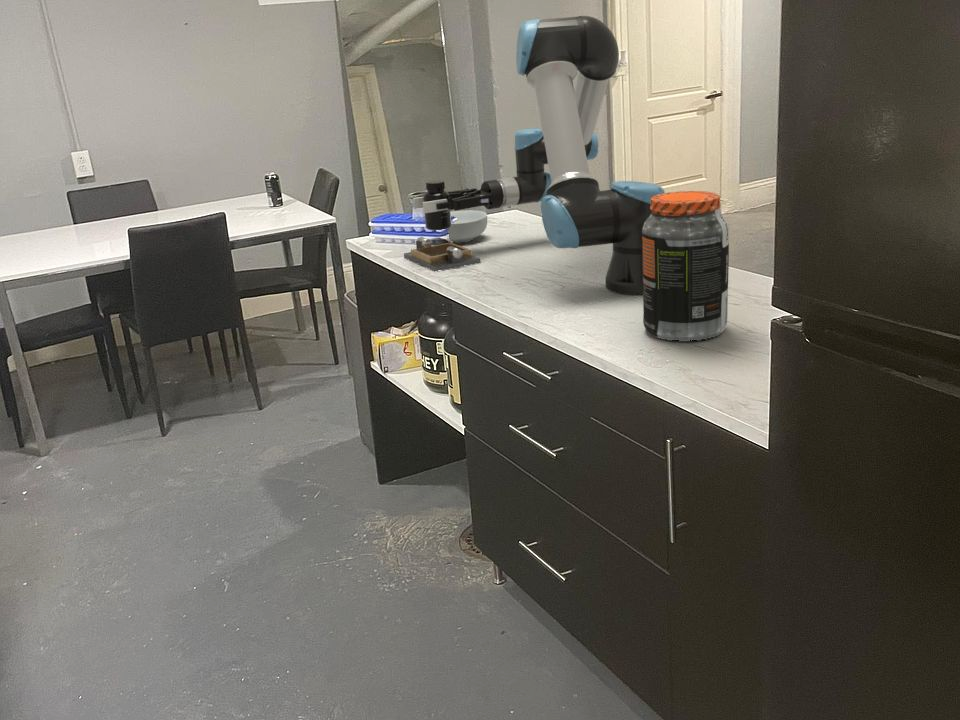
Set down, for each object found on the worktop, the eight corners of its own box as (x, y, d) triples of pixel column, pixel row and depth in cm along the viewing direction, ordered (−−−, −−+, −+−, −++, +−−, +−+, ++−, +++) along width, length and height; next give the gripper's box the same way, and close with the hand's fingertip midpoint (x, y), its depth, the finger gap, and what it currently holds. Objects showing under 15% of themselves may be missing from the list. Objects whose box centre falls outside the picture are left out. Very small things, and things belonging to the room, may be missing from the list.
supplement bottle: (451, 229, 234) (447, 183, 230) (424, 231, 234) (420, 185, 230) (452, 223, 240) (448, 178, 236) (426, 225, 241) (422, 180, 236)
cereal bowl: (422, 239, 266) (420, 215, 263) (473, 231, 272) (472, 207, 270) (445, 250, 251) (442, 225, 249) (498, 240, 257) (497, 216, 255)
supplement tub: (742, 325, 173) (746, 191, 165) (701, 349, 163) (703, 207, 154) (669, 313, 184) (669, 186, 175) (626, 335, 173) (624, 201, 164)
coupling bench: (481, 263, 234) (480, 244, 232) (436, 272, 229) (434, 253, 227) (446, 249, 251) (445, 232, 250) (403, 257, 246) (402, 240, 244)
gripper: (515, 213, 234) (433, 226, 226) (484, 202, 251) (407, 214, 243) (514, 184, 232) (430, 196, 223) (482, 175, 249) (404, 186, 240)
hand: (418, 205), depth 233 cm, fingers closed on supplement bottle, 7 cm apart
